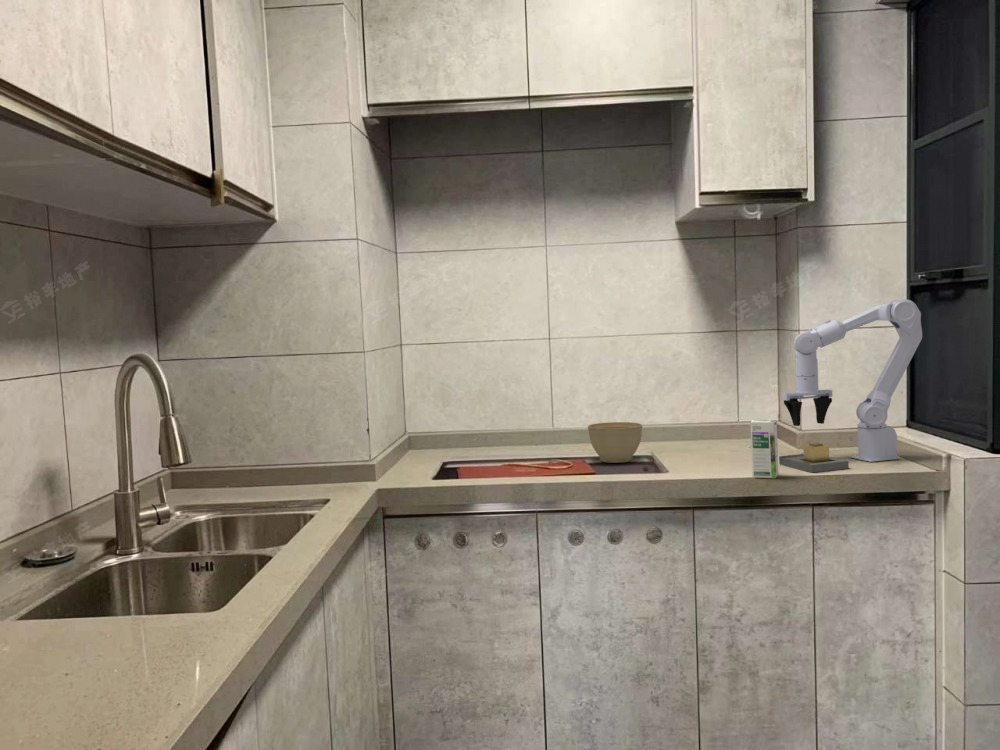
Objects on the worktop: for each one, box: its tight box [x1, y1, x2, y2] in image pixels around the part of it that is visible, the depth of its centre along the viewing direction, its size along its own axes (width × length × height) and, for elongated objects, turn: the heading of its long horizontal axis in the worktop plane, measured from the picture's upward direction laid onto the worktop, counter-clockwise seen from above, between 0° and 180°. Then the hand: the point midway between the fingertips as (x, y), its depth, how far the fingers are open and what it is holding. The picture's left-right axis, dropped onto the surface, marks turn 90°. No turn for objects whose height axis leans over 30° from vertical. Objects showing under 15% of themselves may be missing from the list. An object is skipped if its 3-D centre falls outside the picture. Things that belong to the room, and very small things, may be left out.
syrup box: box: [749, 418, 780, 479], centre depth 196 cm, size 6×6×14 cm
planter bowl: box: [587, 421, 643, 464], centre depth 231 cm, size 16×16×11 cm
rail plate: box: [778, 453, 850, 474], centre depth 205 cm, size 11×14×2 cm
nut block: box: [802, 442, 830, 463], centre depth 204 cm, size 4×4×6 cm
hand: (808, 424), depth 215 cm, fingers open, 7 cm apart
